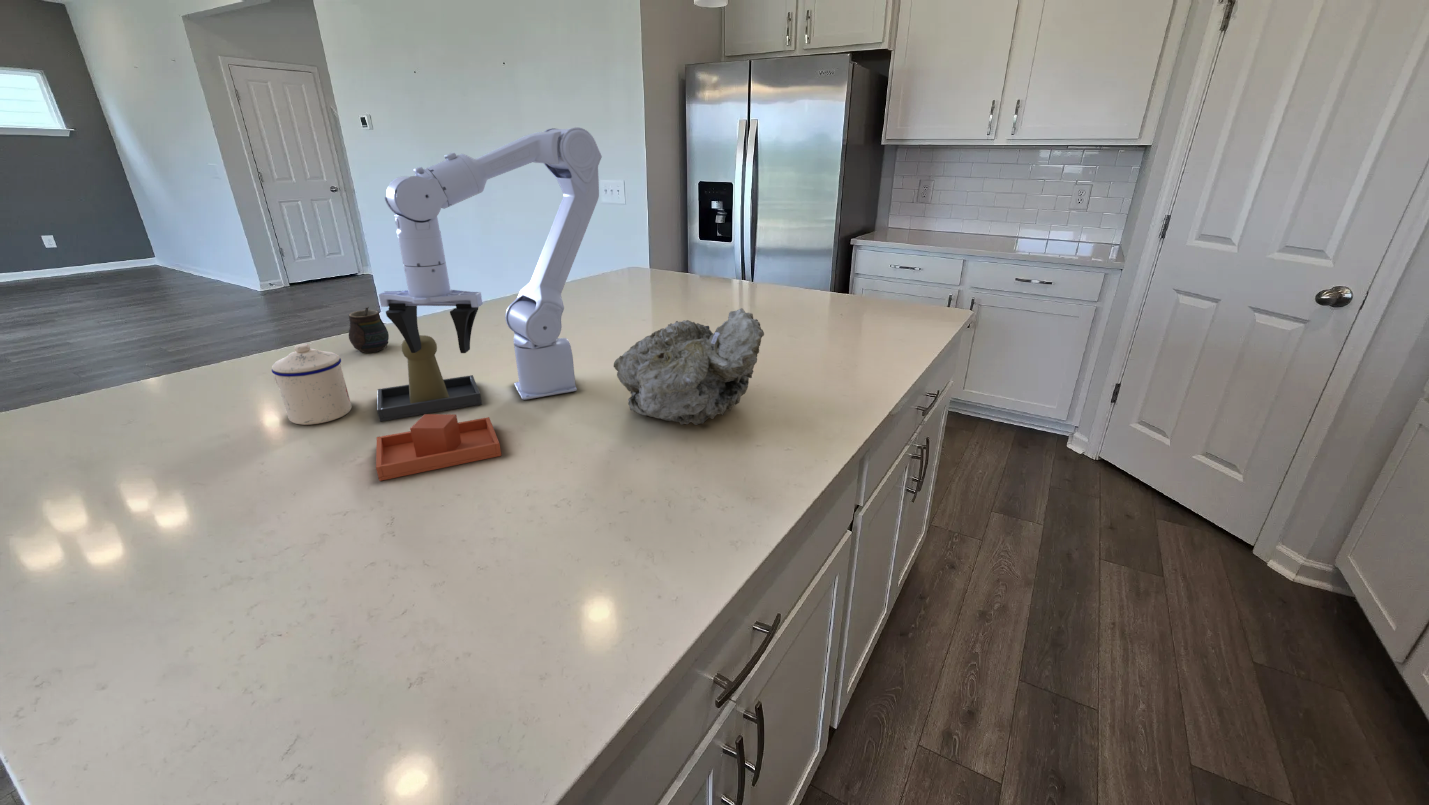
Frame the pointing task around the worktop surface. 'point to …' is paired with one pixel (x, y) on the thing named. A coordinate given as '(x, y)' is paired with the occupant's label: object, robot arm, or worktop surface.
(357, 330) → the mate gourd
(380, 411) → the charcoal tray
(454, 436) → the terracotta block
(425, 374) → the cork
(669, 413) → the rock
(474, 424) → the terracotta tray
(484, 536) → the worktop surface
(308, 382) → the lidded enamel canister
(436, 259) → the robot arm
